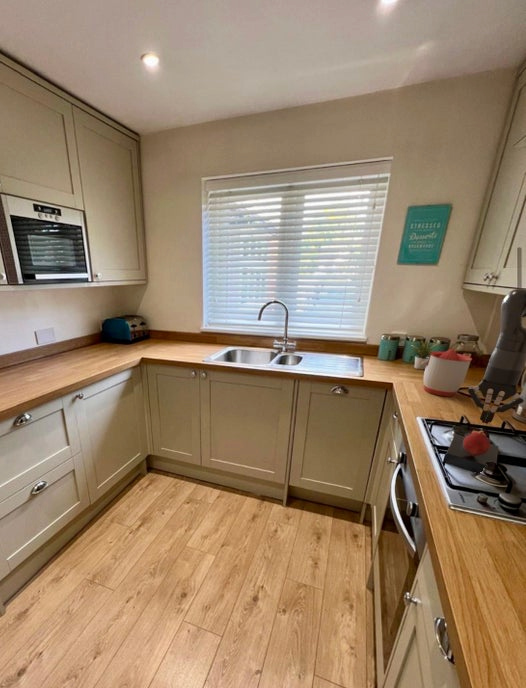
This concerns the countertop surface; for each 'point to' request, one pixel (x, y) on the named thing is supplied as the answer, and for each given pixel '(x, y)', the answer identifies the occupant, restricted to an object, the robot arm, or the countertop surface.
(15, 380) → the countertop surface
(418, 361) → the house plant
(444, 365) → the citrus juicer
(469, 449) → the onion
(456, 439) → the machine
